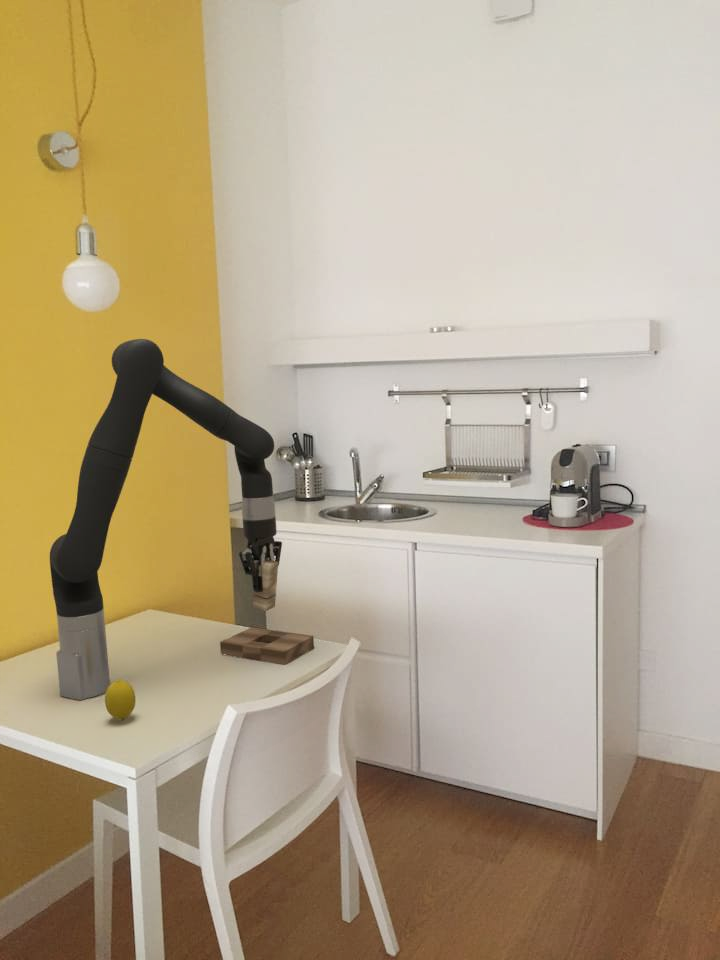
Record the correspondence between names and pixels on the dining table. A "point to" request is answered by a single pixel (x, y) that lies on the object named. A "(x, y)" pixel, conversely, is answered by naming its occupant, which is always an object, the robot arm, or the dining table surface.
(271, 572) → the beech peg
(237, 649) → the walnut board
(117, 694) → the lemon
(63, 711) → the dining table surface
